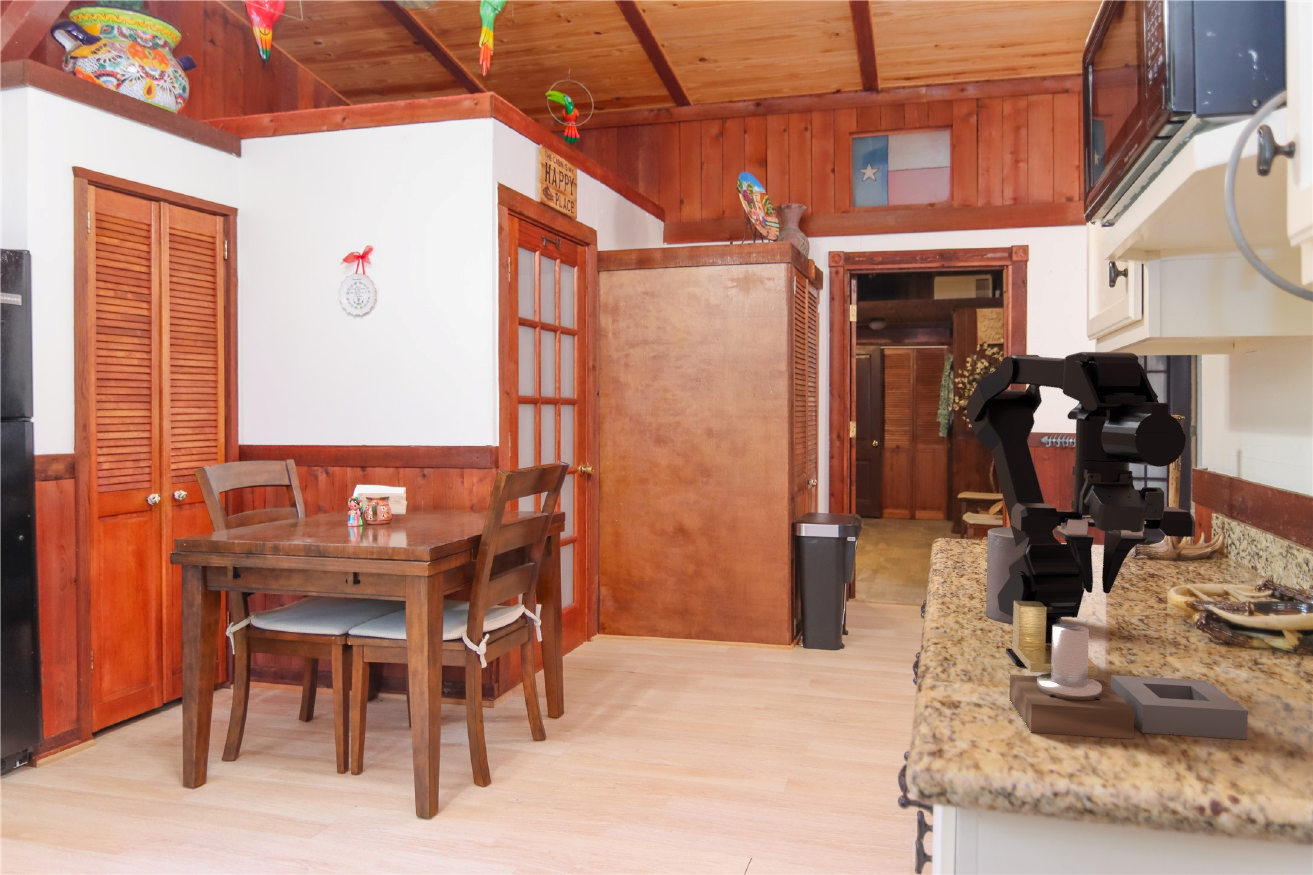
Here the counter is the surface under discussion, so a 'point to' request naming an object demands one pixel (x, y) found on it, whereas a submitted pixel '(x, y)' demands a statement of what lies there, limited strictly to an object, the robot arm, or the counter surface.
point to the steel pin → (1069, 666)
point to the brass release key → (1034, 637)
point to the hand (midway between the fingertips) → (1097, 592)
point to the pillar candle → (998, 569)
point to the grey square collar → (1181, 707)
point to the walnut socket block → (1072, 711)
